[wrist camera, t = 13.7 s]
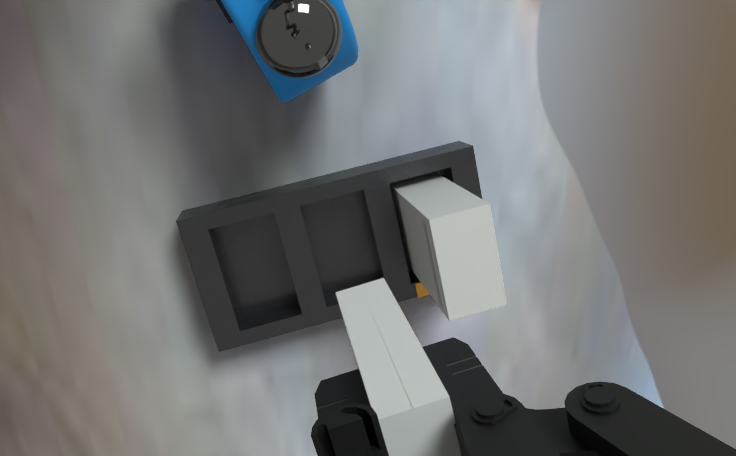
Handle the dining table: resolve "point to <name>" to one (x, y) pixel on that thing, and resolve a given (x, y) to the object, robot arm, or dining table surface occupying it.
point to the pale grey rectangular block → (450, 244)
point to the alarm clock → (295, 40)
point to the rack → (308, 245)
